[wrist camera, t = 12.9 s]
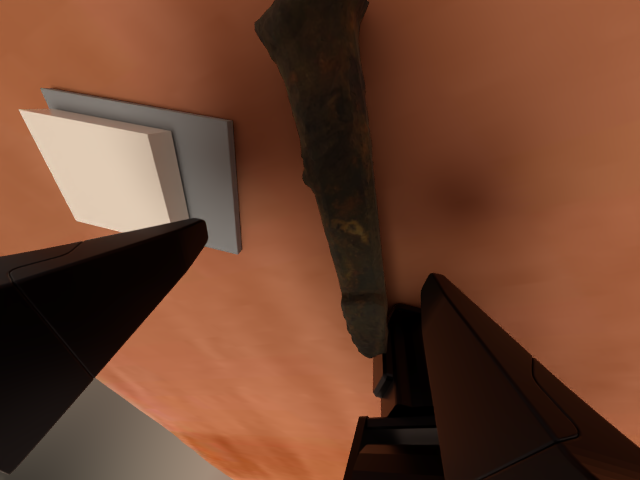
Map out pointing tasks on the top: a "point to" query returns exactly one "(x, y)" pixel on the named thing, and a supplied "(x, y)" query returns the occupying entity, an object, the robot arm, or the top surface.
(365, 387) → the top surface
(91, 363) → the robot arm
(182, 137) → the mat
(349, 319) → the hand tool
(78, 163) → the tile
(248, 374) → the top surface
